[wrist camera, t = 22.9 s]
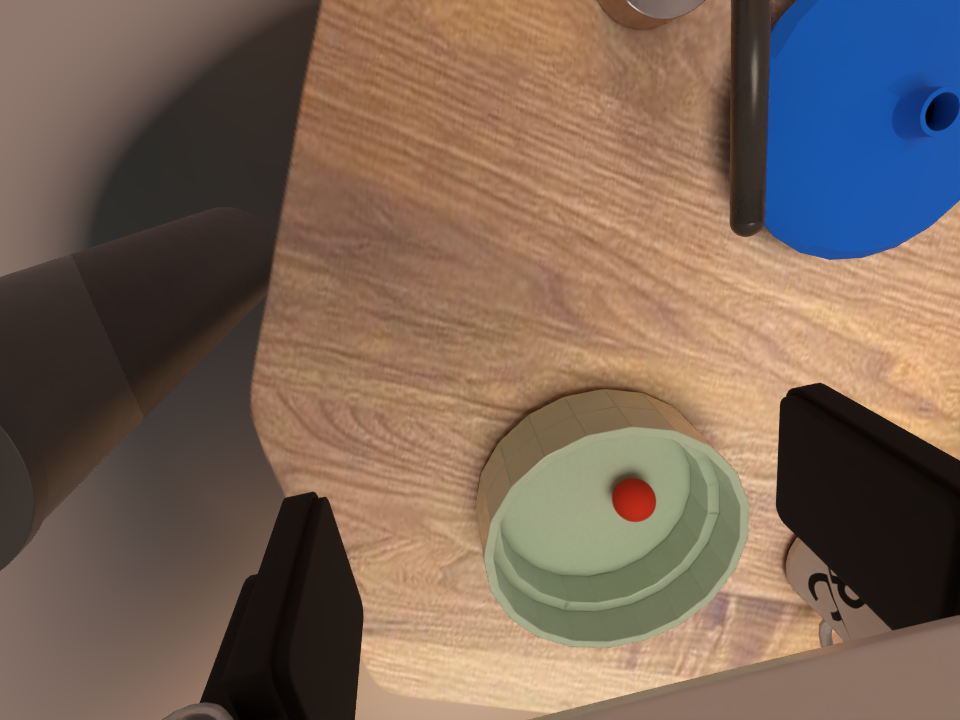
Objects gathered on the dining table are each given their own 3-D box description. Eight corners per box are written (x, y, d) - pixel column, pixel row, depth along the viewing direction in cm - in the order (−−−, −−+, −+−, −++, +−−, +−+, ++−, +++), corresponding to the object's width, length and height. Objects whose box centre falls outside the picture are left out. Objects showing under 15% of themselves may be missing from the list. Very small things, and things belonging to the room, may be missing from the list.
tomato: (612, 474, 38) (614, 477, 41) (609, 519, 38) (612, 519, 40) (657, 478, 38) (656, 481, 40) (656, 524, 37) (655, 524, 40)
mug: (803, 500, 43) (907, 598, 34) (904, 507, 45) (1031, 602, 35) (753, 621, 48) (834, 737, 38) (847, 624, 49) (947, 736, 40)
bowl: (495, 603, 44) (506, 670, 38) (457, 412, 37) (463, 460, 32) (705, 559, 44) (746, 619, 39) (703, 364, 38) (752, 403, 32)
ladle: (585, -97, 28) (678, -228, 18) (700, -116, 28) (856, -257, 18) (609, 219, 34) (688, 251, 24) (704, 201, 34) (822, 226, 24)
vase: (678, 38, 30) (748, 10, 24) (954, -97, 29) (1107, -165, 23) (744, 291, 36) (815, 323, 30) (976, 185, 35) (1103, 195, 29)
